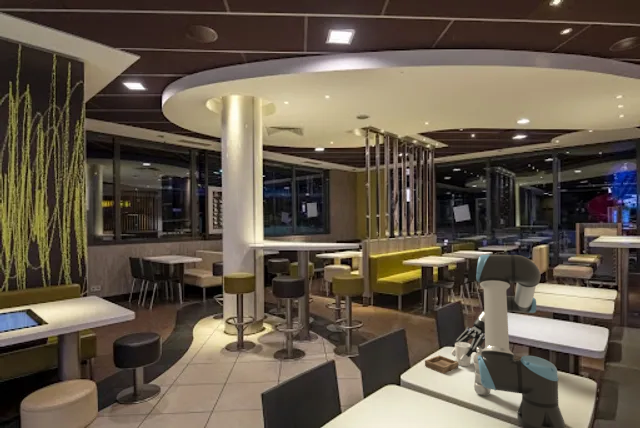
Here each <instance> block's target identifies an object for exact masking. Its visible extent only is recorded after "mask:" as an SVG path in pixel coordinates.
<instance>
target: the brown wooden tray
mask: <svg viewBox="0 0 640 428" xmlns="http://www.w3.org/2000/svg"><path fill="white" fill-rule="evenodd" d="M425 366H426V368H428V369H430V368H431V370H433V371H435V370H436V371H435V372H438V373H441V374H443V375H445V374H447V373H450V372H452V371H454V370H457V369H459V365H458V362H457V361H456V360H453V359H451V358H447V357H445V356H444V355H443V356H442V355H437V356H434V357H431V358H429V359H426V360H424V367H425Z"/></svg>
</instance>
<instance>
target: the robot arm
mask: <svg viewBox="0 0 640 428" xmlns="http://www.w3.org/2000/svg"><path fill="white" fill-rule="evenodd" d="M475 277H476V278H475V280H476V282H478V283H479V286H480V287H481V288H482V289H483V304H484V305H483V307H484V309H483V310H482V312H481V313H480V314H479V315H478V317H477V319H475V321H474V322H473V323H472V324H473V326H472V327H471V328H470V327H469V326H466V328H465V330H464V331H463V332H462V333H461V334H460V335H459V336H458V337H457V339H456V340H455V341H456V343H457V342H466V343H468V341H470V340H471V339H472V340H471V343H470V344H471V346H470V348H469V349H470V350H469V349H467V350H466V352H465V353H464V354H463V356H462V357H461V358H460V359H461V360H462V361H463V362H464V363H465V361H466V360H467V359H468V357H470V356H471V357H472V354H473V353H475V354H476V353H477V351H476V350H477V346H483V343H484V347H485V348H484V349H483V350H482V351H481V355H479V356H478V364H479V371H480V377H481V383H482V385H483V387H485V388H488V389H491V390H494V391H501V392H508V393H514V394H521V401H520V404H519V407H518V409H517V421H518V423H519V424H520V425H521V426H522V427H524V428H565V427H566V424H565V423H566V422H565V419H564V417H563V415H562V411H561V409H560V407H559V387H558V386H559V375H558V369H557V367H556V366H555V364H554V363H552V362H551V361H549V360H547V359H544V358H543V357H542V358H541V357H538V356H535V355H523V356H521V358H520V359H515V355H514V353H513V352H512V351H511V350H510V341H509V340H510V339H509V337H510V335H509V322H508V321H509V320H508V312H515V313H526V314H529V313H530V314H534V313H536V312H537V300H536V298H535V296H534V295H535V291H536V288H537V286H538V284H540V281H541V277H542V276H541V271H540V269H539V267H538V266H537V265H536V263H534V262H533V260H531V259H530V258H528V257H526V256H523V255H518V254H481V255H479V257H478V259H477V266H476V275H475ZM512 283H513V284H514V283H516V284H515V285H516V286H515V294H514V295H507V290H508V289H510V287H511V284H512ZM450 354H451V355H452V356H453V357H455V358H456V353H455V346H454V348H453V349H452V350H451V352H450Z"/></svg>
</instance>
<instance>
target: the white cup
mask: <svg viewBox="0 0 640 428" xmlns="http://www.w3.org/2000/svg"><path fill="white" fill-rule="evenodd" d="M470 346H471V343H469V342H457V341H456V342H454V347H455V353H456V356H455V361H457V362H458V366H461V367H469V366H471V361H472V355H471V356H470V357H468V359H467V360H466V361H465V363H464V362H463V361H462V360H461V359H460V358H461V357H462V356H463V354H464V353H465V352H466V350H467V349H469V348H470ZM469 350H470V349H469Z"/></svg>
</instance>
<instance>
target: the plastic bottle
mask: <svg viewBox="0 0 640 428" xmlns="http://www.w3.org/2000/svg"><path fill="white" fill-rule="evenodd" d="M484 348H485V346H483V345H481V346H477V350H476V351H477V353H476V352H475V354H474V356H473V359H472V360H473V364H474V365H473V366H474V374H475V376H474V385H473V387H474V391H475V393H476V394H478V395H479V396H484V397H485V396H489V395H490V394H491V390H492V389H488V388H485V387H483V385H482V383H481V377H480V371H479V364H478V356H479V355H481V351H482V350H483V349H484Z"/></svg>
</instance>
